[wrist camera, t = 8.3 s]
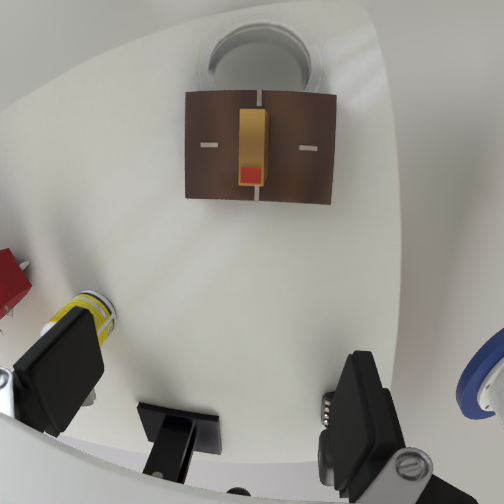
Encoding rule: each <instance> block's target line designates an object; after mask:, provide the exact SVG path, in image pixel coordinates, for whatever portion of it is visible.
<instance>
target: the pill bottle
mask: <svg viewBox="0 0 504 504" xmlns="http://www.w3.org/2000/svg"><path fill="white" fill-rule="evenodd" d="M74 306H79V307H83V308H87V309H89V310H90V312H91V314H93V316H94V321H95V326H96V331H97V336H98V341H99V346H101V345H102V344H103V342H104V341H105V340H106V339H107V337H108V336H109V335H110V333H111V332H112V331H113V329H114V328H115V325H116V314H115V311H114V309H113V307H112V305H111V303H110V302H109V301H108V300H107V299H106V298H105V297H104V296H102V295H101V294H99V293H97V292H95V291H90V290H86V291H82V292H80V293H79V294H78V295H76V296H75V297H74V298H73V299H72V300H71V301H70V302H69V303H68V304H67V305H66V306H65V307H63V308H62V309H61V310H60V311H59V312H58V313H57V314H56V315H55V316H54V317H53V318H52V319H51V320H50V321H49V322H48V323H47V324H46V325H45V326H44V327H43V329H42V331H41V336H40V338H41V337H42V336H43V335H44V334H45V333H46V332H47V331H48V330H49V329H50V328H51V327H52V326H53V325H54V324H56V323H57V322H58V321H59V320H60V319H61V318H62V317H63V316H64V315H65V314H66V313H67V312H68V311H69V310H71V309H72V308H73V307H74Z"/></svg>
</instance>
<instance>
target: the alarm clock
mask: <svg viewBox="0 0 504 504" xmlns="http://www.w3.org/2000/svg"><path fill="white" fill-rule="evenodd" d="M29 264H30V263H29V261H28V260H27V261H25V262H23V263H21V264H20V265H18V263H17V262H16V260H15V258H14V257H13V255H12V253H11V252H10V250H9V248H7V249H4V250H1V251H0V319H1V318H3V317H4V316H5V315H6V314H7V313H8V314H7V315H10V316H13V310H11V309H12V308H13V307H14V306H15V305H16V304H17V303H18V302H19V301H20V300H21V299H22V298H23V297H25V296H26V295H27V293H28V292H29V290H30V288H31V287H32V285H31V284H30V282H29V281H28V279H27V277H26V276H25V274H24V273H23V270H24V269H25V268H26V267H27V266H28V265H29ZM0 331H1V330H0ZM1 333H2V331H1ZM2 334H3V333H2Z"/></svg>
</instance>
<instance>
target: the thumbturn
mask: <svg viewBox="0 0 504 504" xmlns="http://www.w3.org/2000/svg"><path fill="white" fill-rule="evenodd" d="M268 146H269V114H268V112H267V111H266V110H265V109H240V130H239V185H240V186H263V185H264V183H265V181H266V179H267V176H268Z"/></svg>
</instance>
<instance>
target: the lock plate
mask: <svg viewBox="0 0 504 504" xmlns="http://www.w3.org/2000/svg"><path fill="white" fill-rule="evenodd" d="M336 101H337V95H331V94H320V93H308V92H292V91H291V92H290V91H264V90H262V89H257V90H223V91H198V92H186V98H185V198H188V199H225V200H251V201H254V202H258V203H259V201H272V202H290V203H306V204H321V205H331V195H332V182H333V167H334V151H335V130H336ZM240 109H265V110H266V111H267V112H268V114H269V146H268V176H267V179H266V181H265V183H264V185H263V186H240V185H239V130H240Z"/></svg>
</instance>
